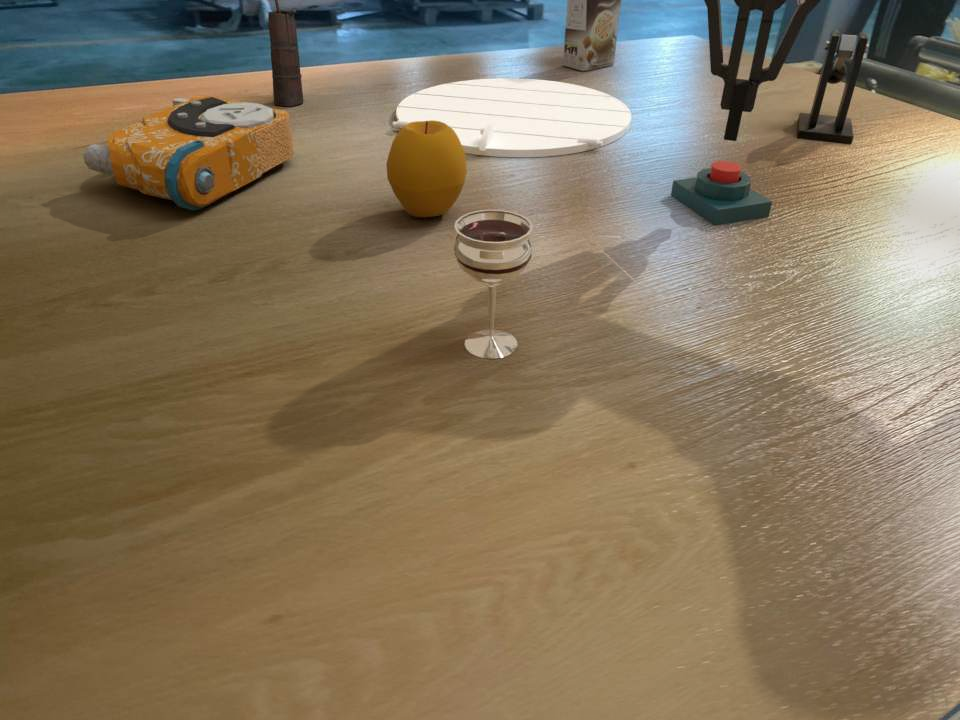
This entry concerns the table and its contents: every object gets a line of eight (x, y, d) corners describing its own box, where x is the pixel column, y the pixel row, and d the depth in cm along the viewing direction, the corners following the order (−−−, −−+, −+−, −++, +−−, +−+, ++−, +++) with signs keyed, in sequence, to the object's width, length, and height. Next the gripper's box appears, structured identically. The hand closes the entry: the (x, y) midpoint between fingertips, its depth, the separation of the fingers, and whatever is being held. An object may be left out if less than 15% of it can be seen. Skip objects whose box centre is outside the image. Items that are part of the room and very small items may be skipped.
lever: (819, 86, 128) (823, 64, 128) (842, 88, 127) (846, 66, 127) (832, 53, 115) (837, 29, 115) (858, 55, 114) (863, 31, 114)
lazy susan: (614, 171, 108) (617, 147, 106) (357, 144, 116) (355, 122, 114) (640, 94, 140) (643, 74, 138) (437, 77, 148) (437, 59, 146)
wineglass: (493, 316, 75) (496, 203, 68) (542, 345, 71) (550, 227, 64) (440, 341, 72) (437, 223, 65) (488, 373, 67) (490, 251, 61)
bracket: (797, 119, 128) (821, 25, 120) (848, 125, 126) (876, 29, 118) (797, 138, 120) (821, 38, 112) (851, 144, 118) (880, 43, 110)
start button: (744, 182, 95) (747, 169, 94) (720, 186, 94) (722, 172, 93) (727, 172, 98) (729, 159, 97) (703, 176, 97) (705, 162, 96)
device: (39, 130, 95) (204, 73, 118) (59, 193, 100) (214, 127, 122) (179, 158, 87) (327, 92, 110) (194, 224, 92) (333, 148, 115)
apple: (425, 238, 90) (421, 140, 83) (372, 214, 95) (365, 120, 88) (482, 214, 95) (483, 120, 89) (429, 192, 101) (427, 103, 94)
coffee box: (584, 72, 152) (591, -17, 143) (561, 65, 156) (567, -21, 147) (615, 65, 157) (624, -21, 148) (592, 59, 161) (600, -25, 152)
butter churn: (333, 100, 135) (315, -82, 119) (294, 114, 128) (270, -77, 112) (296, 92, 139) (273, -85, 123) (256, 104, 132) (227, -81, 116)
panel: (768, 217, 95) (776, 187, 93) (714, 226, 93) (720, 195, 91) (721, 188, 103) (727, 159, 101) (670, 196, 101) (675, 167, 98)
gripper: (842, -87, 80) (787, 134, 94) (716, -92, 84) (680, 121, 97) (844, -81, 75) (785, 154, 88) (709, -87, 78) (672, 139, 92)
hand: (730, 136), depth 93 cm, fingers closed
